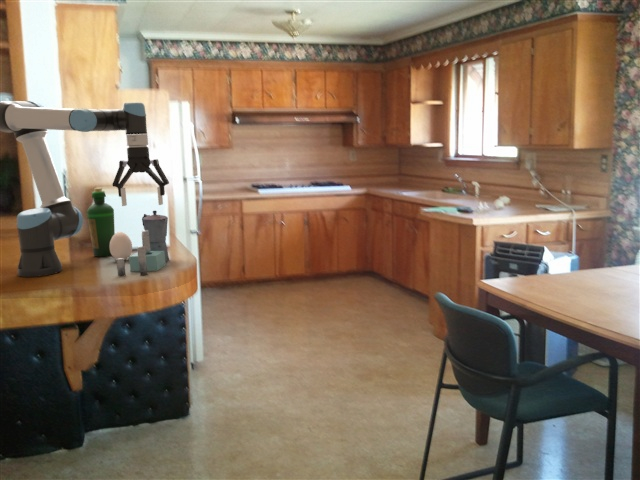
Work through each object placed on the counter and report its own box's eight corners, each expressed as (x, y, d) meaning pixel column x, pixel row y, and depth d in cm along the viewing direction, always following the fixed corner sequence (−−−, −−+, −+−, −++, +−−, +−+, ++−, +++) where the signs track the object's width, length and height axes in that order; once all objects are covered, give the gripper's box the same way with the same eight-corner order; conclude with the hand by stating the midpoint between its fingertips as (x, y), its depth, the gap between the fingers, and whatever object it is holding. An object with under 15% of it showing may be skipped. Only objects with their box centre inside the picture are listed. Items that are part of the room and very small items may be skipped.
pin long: (145, 267, 241) (142, 230, 239) (152, 267, 241) (149, 230, 239) (143, 268, 239) (140, 231, 236) (150, 268, 238) (147, 231, 236)
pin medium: (138, 275, 228) (136, 247, 226) (141, 273, 230) (139, 246, 229) (145, 275, 227) (143, 247, 226) (148, 273, 230) (145, 246, 228)
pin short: (116, 276, 228) (115, 259, 227) (119, 274, 231) (118, 258, 230) (124, 276, 228) (122, 259, 227) (126, 274, 231) (125, 257, 230)
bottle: (98, 252, 275) (92, 187, 270) (122, 252, 274) (116, 186, 269) (86, 257, 265) (79, 189, 260) (110, 257, 263) (104, 189, 259)
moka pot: (159, 265, 244) (155, 212, 241) (134, 261, 254) (129, 210, 250) (179, 260, 252) (175, 209, 248) (153, 257, 261) (149, 207, 258)
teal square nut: (130, 271, 235) (129, 256, 234) (139, 265, 245) (138, 251, 244) (157, 270, 235) (156, 255, 234) (165, 264, 244) (164, 250, 243)
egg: (106, 261, 256) (103, 232, 254) (124, 257, 263) (122, 229, 261) (119, 263, 251) (116, 234, 249) (138, 259, 257) (135, 231, 255)
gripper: (99, 148, 229) (105, 207, 233) (168, 145, 228) (173, 205, 231) (107, 147, 237) (113, 204, 240) (174, 144, 235) (179, 202, 239)
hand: (142, 205), depth 236 cm, fingers open, 13 cm apart
